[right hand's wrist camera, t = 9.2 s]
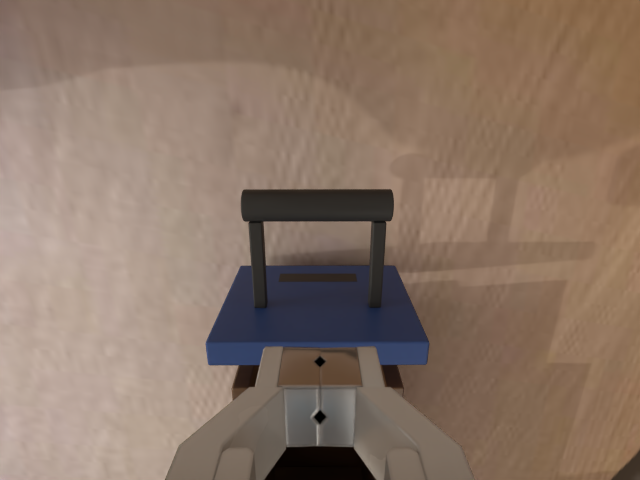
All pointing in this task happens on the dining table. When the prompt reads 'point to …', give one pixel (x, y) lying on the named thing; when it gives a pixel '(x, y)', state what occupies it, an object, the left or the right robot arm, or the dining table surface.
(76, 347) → the dining table surface
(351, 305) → the drawer
